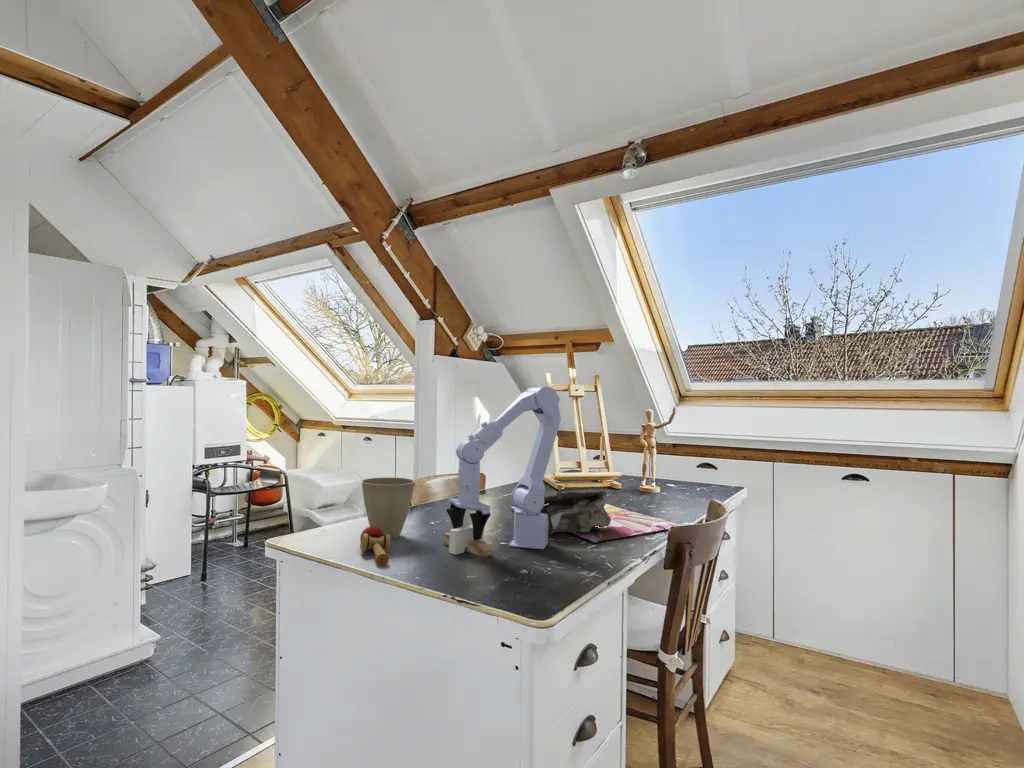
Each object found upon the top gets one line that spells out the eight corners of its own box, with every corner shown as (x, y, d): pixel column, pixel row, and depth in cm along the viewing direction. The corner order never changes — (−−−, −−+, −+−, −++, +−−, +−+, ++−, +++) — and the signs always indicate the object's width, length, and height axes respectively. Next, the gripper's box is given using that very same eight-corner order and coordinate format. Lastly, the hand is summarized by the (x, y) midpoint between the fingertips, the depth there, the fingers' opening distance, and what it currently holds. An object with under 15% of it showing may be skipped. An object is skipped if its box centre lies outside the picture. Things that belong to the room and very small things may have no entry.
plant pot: (407, 544, 151) (409, 485, 151) (353, 542, 151) (354, 484, 151) (417, 530, 166) (419, 477, 166) (368, 529, 166) (370, 476, 166)
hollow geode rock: (531, 552, 163) (548, 523, 153) (517, 515, 171) (533, 485, 162) (610, 540, 175) (630, 512, 165) (593, 507, 183) (612, 478, 174)
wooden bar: (491, 555, 142) (492, 543, 142) (484, 557, 140) (485, 545, 140) (451, 542, 153) (451, 532, 153) (444, 544, 151) (444, 533, 151)
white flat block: (483, 547, 149) (484, 525, 149) (455, 554, 142) (455, 531, 142) (477, 545, 151) (477, 523, 151) (448, 552, 144) (449, 529, 144)
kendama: (401, 568, 134) (386, 540, 150) (398, 544, 133) (383, 518, 149) (369, 578, 131) (357, 547, 147) (365, 553, 130) (354, 525, 146)
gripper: (439, 483, 149) (438, 534, 149) (476, 490, 139) (475, 545, 139) (459, 481, 154) (458, 529, 154) (496, 487, 144) (495, 540, 144)
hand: (467, 536), depth 147 cm, fingers open, 7 cm apart
